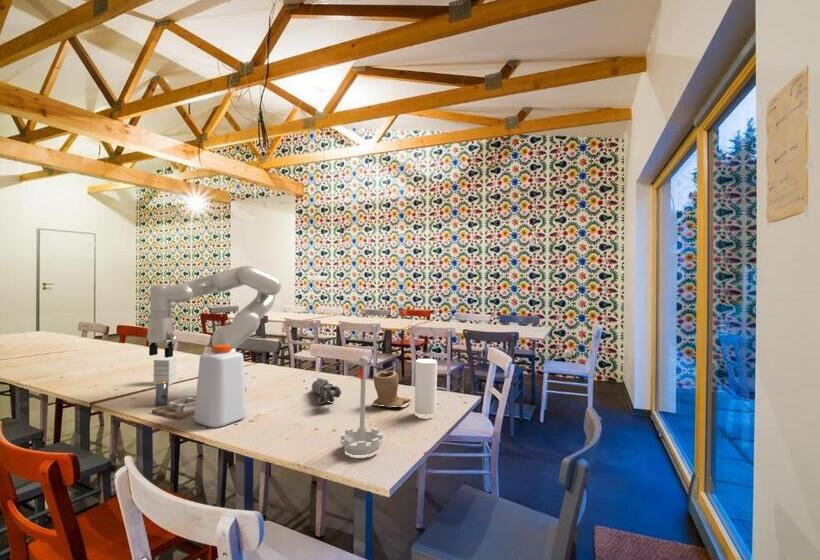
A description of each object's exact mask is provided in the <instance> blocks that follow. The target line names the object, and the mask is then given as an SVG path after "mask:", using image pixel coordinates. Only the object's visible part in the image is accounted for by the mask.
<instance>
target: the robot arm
mask: <svg viewBox="0 0 820 560" xmlns="http://www.w3.org/2000/svg"><path fill="white" fill-rule="evenodd" d="M242 286H246V287H247V286H248V287H250V288H251V289H253V290H256V291H257V293H256V296H255V298H253V300H252V301H251V302H249V304H247V305H246V306H245V307H243V308H242V309H241V310H239V311H238V312H237V313H236V314H235V315H234V317H233V321H232V322H231V323H230V324H229V325H221V326H219V327H217V328H216V329H215V330H214V332H213V334H212V348H213V347H214V346H215V345H223V344H226V345H230V346H231V351H235V352H237V348H238V347H239V346H240V345H241V344H243V343H244V342H245V341H246V340H248V338H250V336H252V335H253V334H254V333H255V332H256V331H257V330H258V329H259V327H260V325H261V319H262V318H263V317H264V316H265V315H266V314H267V313H268V312H269V311H270V310H271V309H272V307H273V306H274V303H275V300H276V295H277V294H278V293H279V292H280V291H281V288H282V285H281V282H280V280H279V279H278V278H276V277H274V276H272V275H270V274H268V273H266V272H263V271H261V270H260V269H257V268H255V267H253V266H249V265H241V266H238V267H235V268H230V269H227V270H224V271H221V272H217V273H214V274H209V275H206V276H204V277H200V278H196V279H193V280H190V281H186V282H183V283H179V284H176V285H169V284H157V285H156V284H155V285H152V286H150V290H149V292H150V294H149V295H150V296H149V301H150V303H149V304H150V305H149V306H150V307H149V309H150V310H149V316H150V317H149V320H148V327H147V334H145V335H146V339H147V340H146V341H147V343H148V349H149V350H148V352H149V353H148V354H149V356H156V355H158V354H159V353H158V347H159V345H158V344H163V345H164V346H165V347H164V357H165V358H168V357H174V347H175V344H176V340H177V336H176V335H174V327H173V326H174V325H173V319H172V317H173V316H172V315H173V314H172V312H173V311H172V309H173V308H172V307H173V306H172V303H187V302H188V301H191V299H194V298H197V297H200V296H204V295H208V294H211V295H212V294H218V293H223V292H225V291H229V290H232V289H236V288H240V287H242ZM245 392H247V387H246V386H245Z"/></svg>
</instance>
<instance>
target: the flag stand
mask: <svg viewBox="0 0 820 560" xmlns="http://www.w3.org/2000/svg"><path fill="white" fill-rule="evenodd" d="M358 362H359V364H360V369H359V371H358V373H357V375H356V377H357V378H359V379H360V396H359V397H360V406H359V426H358V429H357V430H356V429H355V430H354V429H353V428H352V427H350V428H347V429H345V430H344V432H342V433H341V434H340V444H341V446H343V451H344V450H345V451H346V452H347V453H349V454H352V455H366V454H371V453H373V452H375V451H377V450H378V449H379V450H380V446H382V444H383V437H384V436H383V435H384V434H383V432H380V429H378V428H376V427H372V428H371V430H368V429H367V426H365V425H366V379H367V378H366V377H367V364H369V358H368V356H366V355H363V356H360V358H359V360H358ZM354 442H357V445H355V444H352V443H354ZM366 442H371V443H372V444H367V445H366Z"/></svg>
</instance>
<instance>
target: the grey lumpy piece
mask: <svg viewBox="0 0 820 560" xmlns="http://www.w3.org/2000/svg"><path fill="white" fill-rule="evenodd" d="M311 390H312V391H313V392H314V393H316V394H318V395H319V398H318V399H317V400H318V402H320V403H323V402H325V403H329V402H328V401H330V402H333V401H334V402H335V398H340V396H341V395H342V390H341V388H340V387H339V386H335V385H334V384H332V383H330V382H329V380H328V379H326V378H322V377H317V378H316V380H315V381H313V383H312V384H311ZM334 402H333V403H334ZM320 403H319V404H320Z"/></svg>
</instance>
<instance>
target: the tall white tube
mask: <svg viewBox="0 0 820 560" xmlns="http://www.w3.org/2000/svg"><path fill="white" fill-rule="evenodd" d="M429 328H430V330H433V328H431V325H430V326H429ZM431 332H432V333H433V336H435V335H436V333H435V331H431ZM432 350H433V348H429V349H427V350H426V351H425V352H423V353H421V354H420V357H424V356H426V354H428V353H429V352H431V351H432ZM414 374H415V378H414V379H415V381H414V382H415V383H414V384H415V385H414V386H415V387H414V413H415V412H416V413H418V414H425V415H427V414H433V413H435V412H436V413H437V389H438V388H437V385H438V361H437V360H436V359H434V358H433V359H432V358H418V359H416V360H415V373H414Z"/></svg>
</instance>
